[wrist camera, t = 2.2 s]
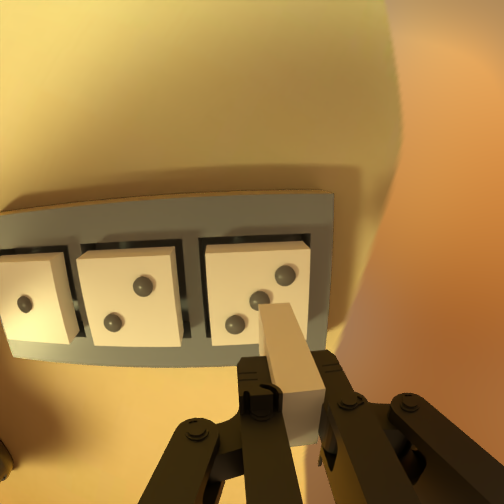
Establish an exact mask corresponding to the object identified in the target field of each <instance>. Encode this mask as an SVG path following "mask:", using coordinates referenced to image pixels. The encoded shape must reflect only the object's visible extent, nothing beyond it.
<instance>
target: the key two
mask: <svg viewBox="0 0 504 504" xmlns="http://www.w3.org/2000/svg"><path fill="white" fill-rule="evenodd" d="M76 262H77V268H78V274H79V279H80V284H81V289H82V294H83V299H84V304H85V309H86V313H87V317H88V322H89V326H90V330H91V334H92V338H93V342H94V345H95V346H122V347H181V343H182V338H183V333H184V328H183V320H182V312H181V303H180V294H179V285H178V275H177V264H176V253H175V246H171V247H150V248H129V249H109V250H90V251H87V252H85V253H84V254H83V255H81V256H80V257H79V258H77V259H76Z"/></svg>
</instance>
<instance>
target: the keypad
mask: <svg viewBox="0 0 504 504" xmlns="http://www.w3.org/2000/svg"><path fill="white" fill-rule="evenodd" d="M333 220H334V193H330V192H327V191H324V190H251V191H222V192H200V193H182V194H166V195H151V196H138V197H126V198H114V199H103V200H93V201H83V202H74V203H65V204H56V205H48V206H40V207H32V208H25V209H18V210H11V211H4V212H0V256H2V255H17V254H35V253H53V252H63V253H64V259H65V265H66V271H67V276H68V281H69V286H70V291H71V296H72V301H73V305H74V309H75V314H76V318H77V322H78V326H79V330H80V331H79V332H78V334H77V335H76V336H75V338H74V339H73V341H72V342H71V343H70V344H57V343H44V342H33V341H22V340H13V339H8V338H7V335H6V332H5V329H4V326H3V323H2V319H1V316H0V320H1V323H2V326H3V329H4V332H5V335H6V338H7V341H8V344H9V347H10V350H11V352H12V355H13V357H16V358H23V359H31V360H40V361H49V362H59V363H70V364H82V365H97V366H117V367H152V368H187V367H222V366H237V364H238V362H239V361H240V359H241V357H253V356H260V354H259V344H242V345H222V346H212V338H211V327H210V315H209V303H208V290H207V276H206V261H205V251H206V246H207V245H215V244H238V243H262V242H287V241H303V242H304V243H305V244H306V245H307V246H308V247H309V248H310V249H311V250H310V280H309V304H308V323H307V340H306V343H307V345H308V347H309V350H310V351H318V350H325V347H326V337H327V325H328V313H329V300H330V285H331V268H332V248H333ZM171 246H175V253H176V264H177V275H178V285H179V294H180V303H181V312H182V320H183V328H184V333H183V338H182V343H181V347H122V346H95V345H94V342H93V338H92V334H91V330H90V326H89V322H88V317H87V313H86V309H85V304H84V299H83V294H82V289H81V284H80V279H79V274H78V268H77V262H76V259H77V258H79V257H80V256H81V255H83V254H84V253H85V252H87V251H90V250H109V249H129V248H150V247H171Z"/></svg>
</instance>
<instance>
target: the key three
mask: <svg viewBox="0 0 504 504" xmlns="http://www.w3.org/2000/svg"><path fill="white" fill-rule="evenodd" d="M310 250H311V249H310V248H309V247H308V246H307V245H306V244H305V243H304V242H303V241H287V242H262V243H238V244H215V245H207V246H206V251H205V261H206V276H207V290H208V303H209V315H210V327H211V338H212V346H222V345H242V344H259V309H258V304H273V303H290V305H291V307H292V310H293V312H294V314H295V317H296V319H297V321H298V324H299V326H300V328H301V331H302V333H303V335H304V338H305V340H307V323H308V304H309V280H310Z"/></svg>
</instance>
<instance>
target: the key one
mask: <svg viewBox="0 0 504 504" xmlns="http://www.w3.org/2000/svg"><path fill="white" fill-rule="evenodd" d="M0 316H1V319H2V323H3V326H4V329H5V332H6V335H7V338H8V339H13V340H22V341H33V342H44V343H57V344H70V343H71V342H72V341H73V339H74V338H75V336H76V335H77V334H78V332H79V331H80V330H79V326H78V322H77V318H76V314H75V309H74V305H73V301H72V296H71V291H70V286H69V281H68V276H67V271H66V265H65V259H64V253H63V252H53V253H35V254H17V255H2V256H0Z"/></svg>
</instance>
